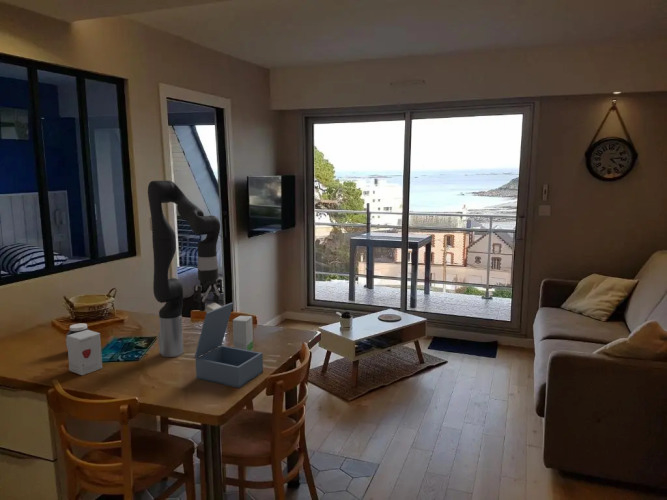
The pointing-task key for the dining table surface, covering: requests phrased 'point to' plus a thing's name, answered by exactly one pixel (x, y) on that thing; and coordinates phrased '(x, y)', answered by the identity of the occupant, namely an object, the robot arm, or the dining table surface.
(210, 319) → the carton flap
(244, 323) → the skincare box
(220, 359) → the carton
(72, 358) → the supplement box
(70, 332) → the spread jar
